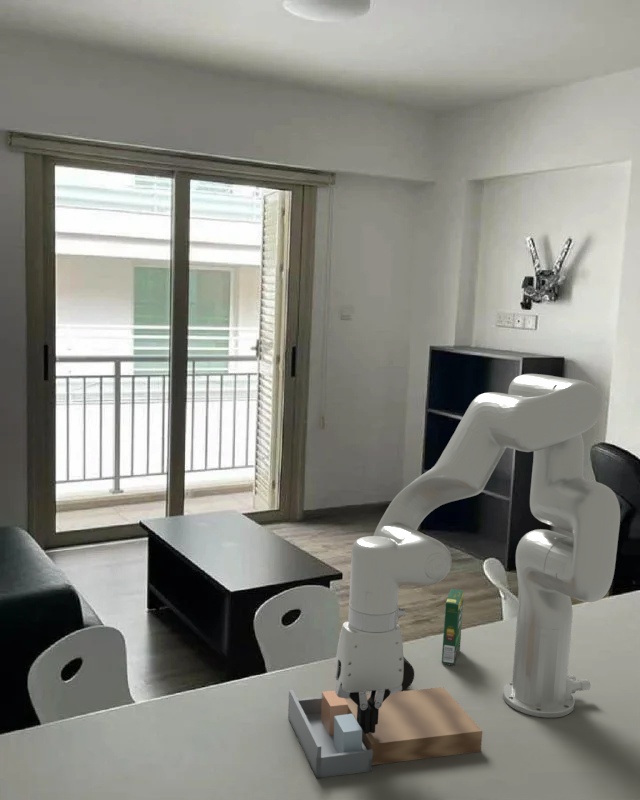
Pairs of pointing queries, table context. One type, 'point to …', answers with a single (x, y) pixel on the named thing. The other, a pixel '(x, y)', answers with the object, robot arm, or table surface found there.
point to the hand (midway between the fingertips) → (366, 728)
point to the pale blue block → (347, 734)
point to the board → (420, 727)
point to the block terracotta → (332, 709)
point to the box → (323, 741)
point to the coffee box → (452, 626)
